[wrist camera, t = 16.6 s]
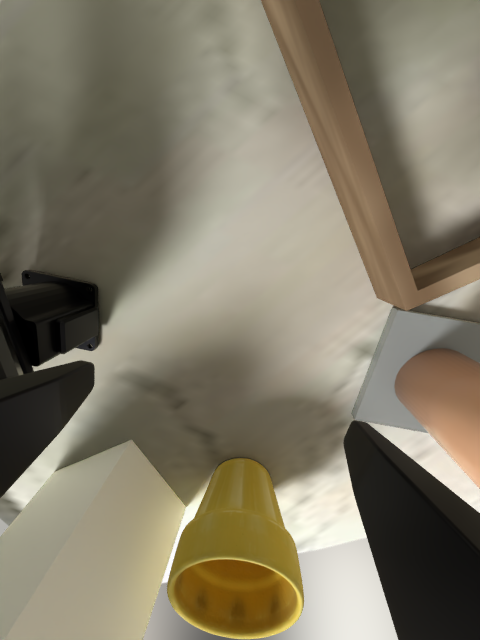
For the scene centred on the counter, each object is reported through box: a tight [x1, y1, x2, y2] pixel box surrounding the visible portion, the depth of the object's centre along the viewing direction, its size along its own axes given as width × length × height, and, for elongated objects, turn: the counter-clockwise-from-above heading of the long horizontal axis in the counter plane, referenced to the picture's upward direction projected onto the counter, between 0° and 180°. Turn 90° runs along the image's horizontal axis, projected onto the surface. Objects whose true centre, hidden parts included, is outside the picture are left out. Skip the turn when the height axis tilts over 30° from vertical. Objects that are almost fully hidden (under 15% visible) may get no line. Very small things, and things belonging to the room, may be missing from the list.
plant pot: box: [167, 458, 304, 639], centre depth 22 cm, size 10×10×10 cm
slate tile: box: [351, 308, 480, 433], centre depth 21 cm, size 11×11×1 cm
